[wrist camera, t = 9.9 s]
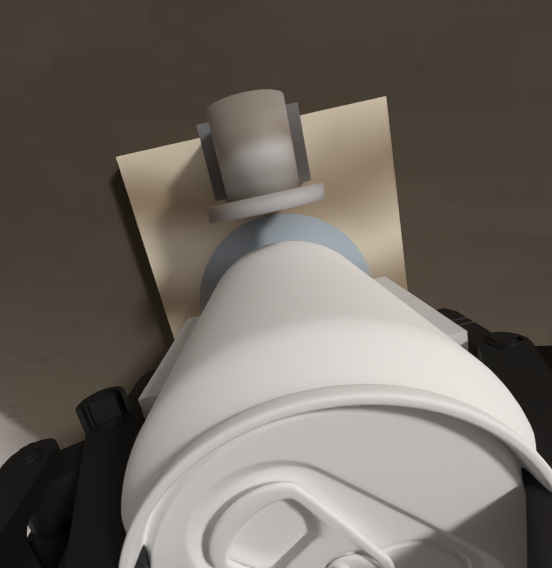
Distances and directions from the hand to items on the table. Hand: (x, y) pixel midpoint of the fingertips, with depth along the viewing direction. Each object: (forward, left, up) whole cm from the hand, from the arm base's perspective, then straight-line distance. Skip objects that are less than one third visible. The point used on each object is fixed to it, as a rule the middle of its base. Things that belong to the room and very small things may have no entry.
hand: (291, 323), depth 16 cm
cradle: (0, 0, -5) cm, 5 cm away
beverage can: (0, 0, -1) cm, 1 cm away
